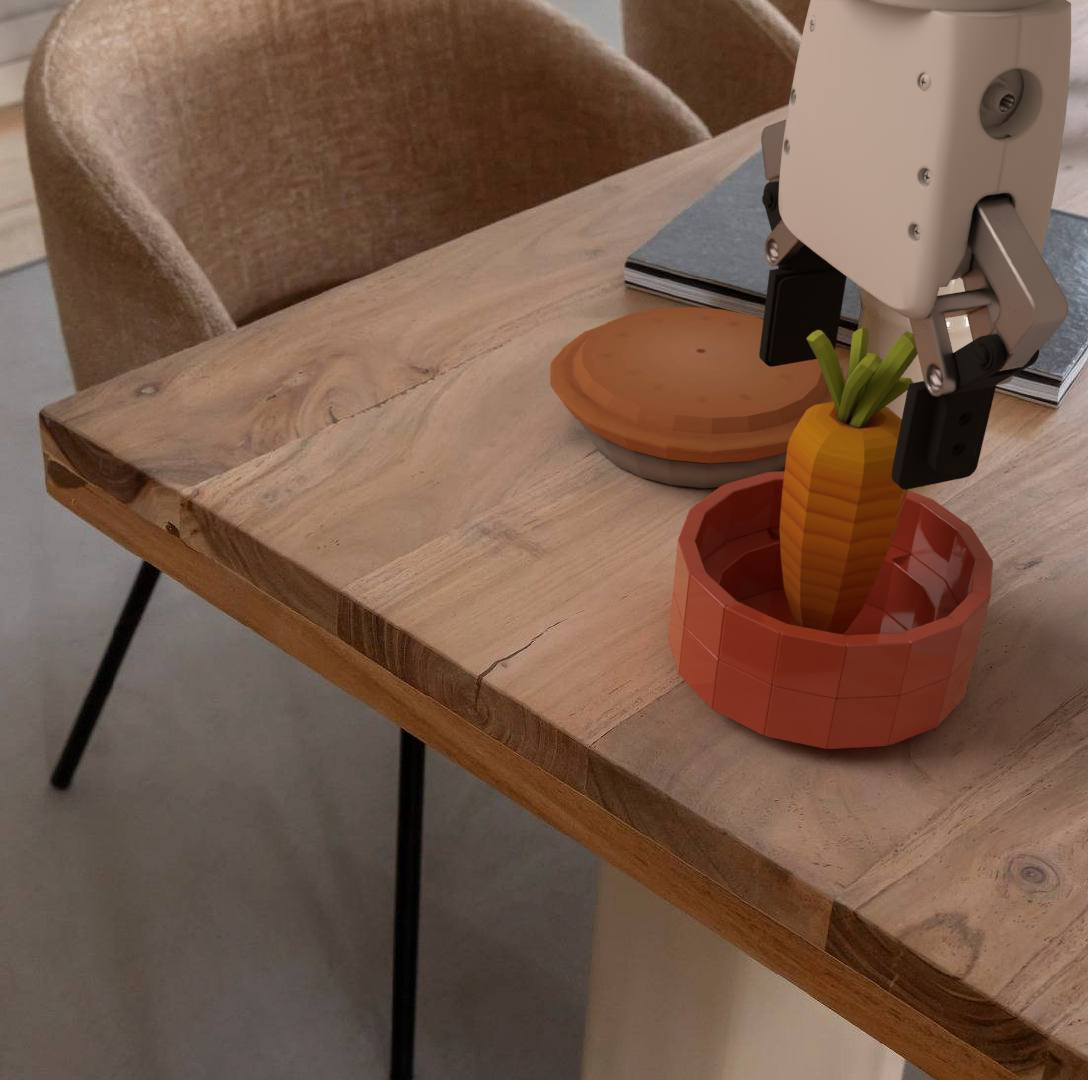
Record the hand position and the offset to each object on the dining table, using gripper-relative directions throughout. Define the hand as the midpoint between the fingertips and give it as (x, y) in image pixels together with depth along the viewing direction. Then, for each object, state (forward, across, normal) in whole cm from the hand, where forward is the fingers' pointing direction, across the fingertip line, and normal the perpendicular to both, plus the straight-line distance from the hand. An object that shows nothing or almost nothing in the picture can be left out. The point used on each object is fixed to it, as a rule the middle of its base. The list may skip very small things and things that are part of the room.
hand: (859, 415), depth 55 cm
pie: (+12, +20, -4) cm, 23 cm away
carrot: (+12, 0, 0) cm, 12 cm away
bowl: (+12, 0, 0) cm, 12 cm away
